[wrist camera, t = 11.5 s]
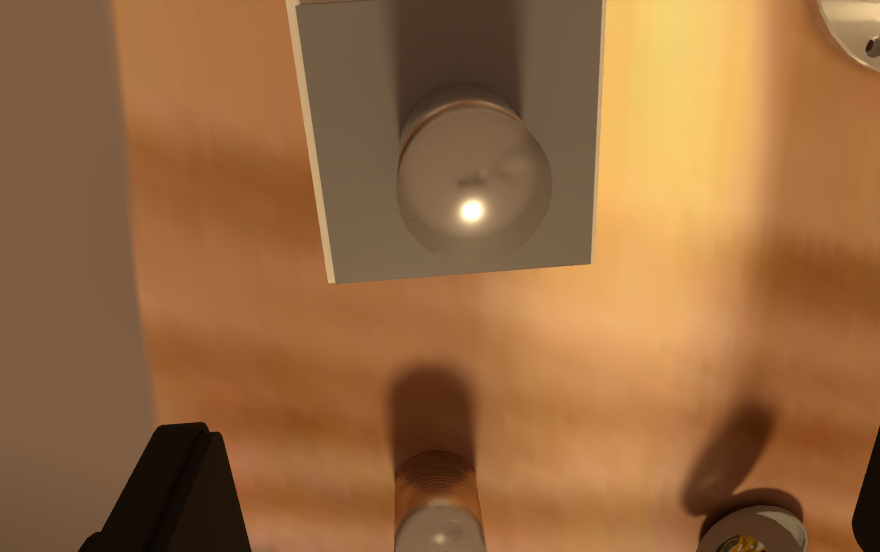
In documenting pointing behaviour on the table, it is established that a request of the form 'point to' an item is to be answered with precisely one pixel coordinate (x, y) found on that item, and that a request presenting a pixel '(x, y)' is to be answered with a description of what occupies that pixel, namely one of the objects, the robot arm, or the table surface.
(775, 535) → the pocket watch
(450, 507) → the cylinder
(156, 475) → the robot arm
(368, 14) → the scale
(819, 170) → the table surface
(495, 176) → the cylinder
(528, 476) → the table surface
